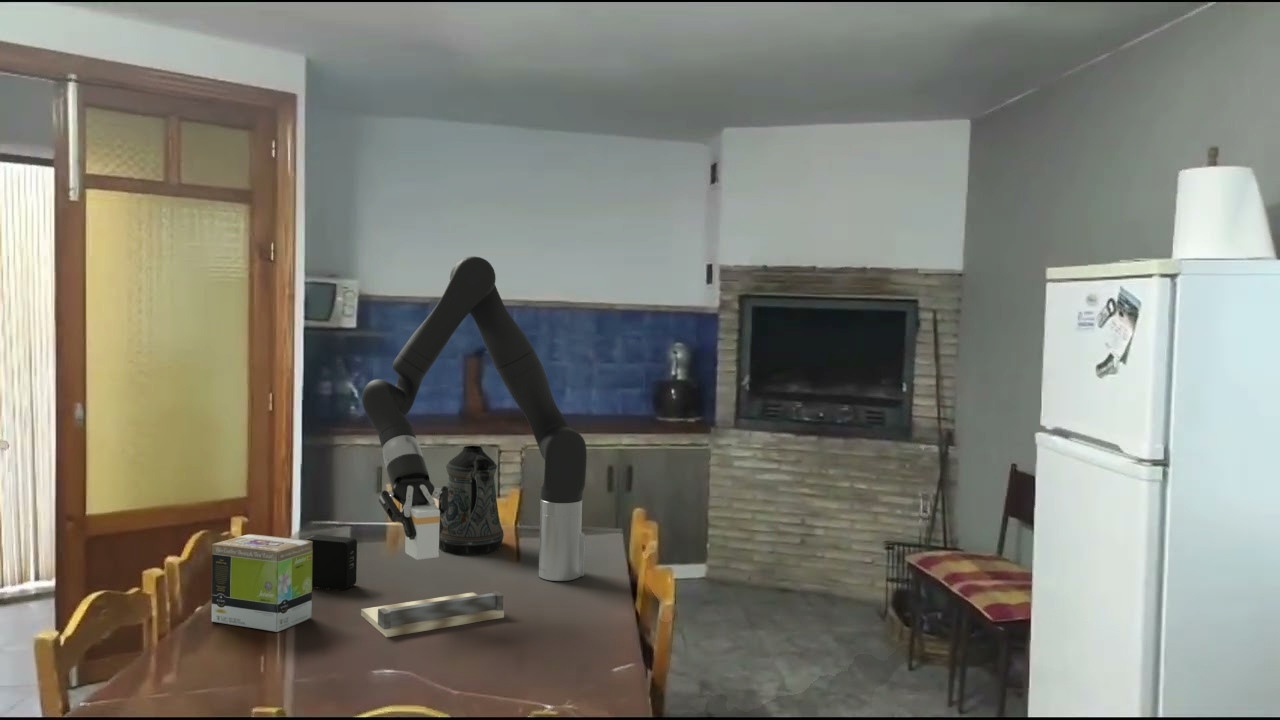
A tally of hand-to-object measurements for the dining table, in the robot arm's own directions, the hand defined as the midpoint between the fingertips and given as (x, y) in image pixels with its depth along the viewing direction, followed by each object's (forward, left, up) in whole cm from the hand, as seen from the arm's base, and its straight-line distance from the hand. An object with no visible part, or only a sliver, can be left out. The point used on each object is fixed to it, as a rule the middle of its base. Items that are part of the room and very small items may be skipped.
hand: (426, 535), depth 179 cm
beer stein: (-30, -43, -15) cm, 55 cm away
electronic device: (+10, -27, -15) cm, 33 cm away
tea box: (+27, -11, -16) cm, 33 cm away
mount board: (-1, +2, -15) cm, 15 cm away
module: (0, -2, -4) cm, 5 cm away
